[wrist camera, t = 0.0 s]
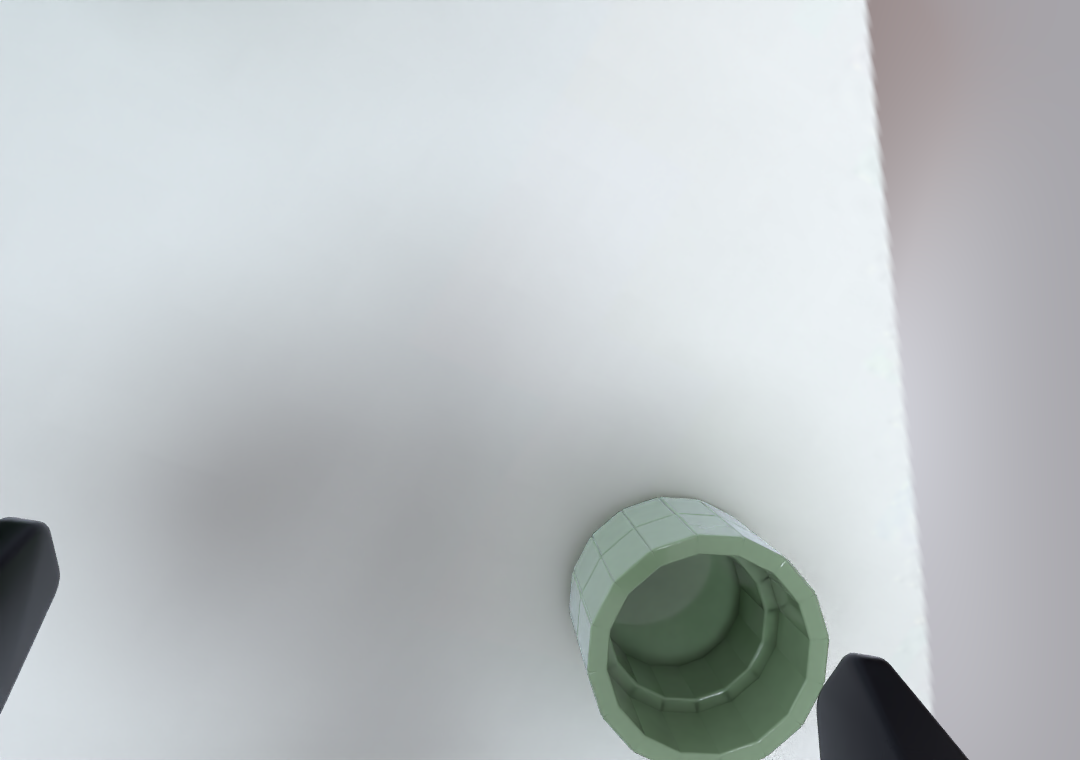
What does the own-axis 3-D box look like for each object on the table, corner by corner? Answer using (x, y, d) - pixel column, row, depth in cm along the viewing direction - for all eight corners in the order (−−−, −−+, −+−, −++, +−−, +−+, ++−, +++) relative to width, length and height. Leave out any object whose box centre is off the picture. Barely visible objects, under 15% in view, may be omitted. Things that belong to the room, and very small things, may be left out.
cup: (783, 647, 25) (856, 726, 20) (602, 710, 25) (631, 805, 20) (728, 466, 25) (789, 502, 20) (542, 529, 25) (556, 582, 20)
